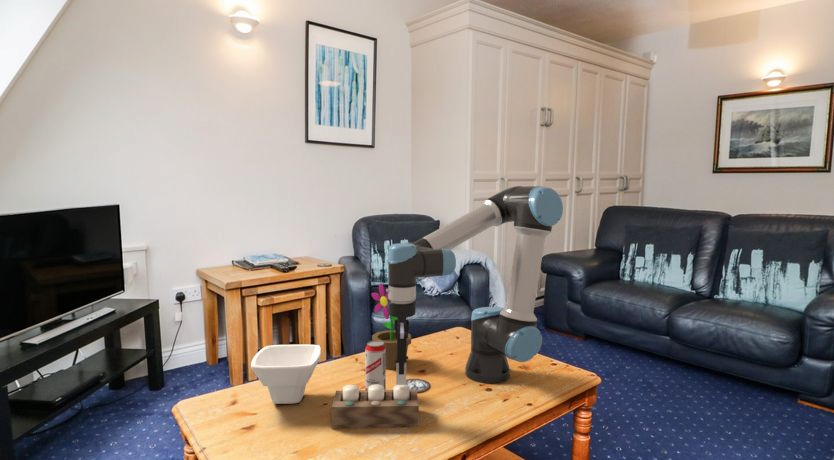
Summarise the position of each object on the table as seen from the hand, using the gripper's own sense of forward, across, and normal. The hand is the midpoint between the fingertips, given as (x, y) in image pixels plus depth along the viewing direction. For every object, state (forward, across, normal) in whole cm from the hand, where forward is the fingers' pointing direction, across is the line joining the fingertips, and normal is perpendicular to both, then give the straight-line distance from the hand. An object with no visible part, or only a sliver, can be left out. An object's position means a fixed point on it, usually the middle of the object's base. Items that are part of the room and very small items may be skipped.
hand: (401, 383), depth 133 cm
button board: (+10, +1, -7) cm, 12 cm away
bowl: (+10, -12, -34) cm, 37 cm away
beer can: (+10, -15, -8) cm, 20 cm away
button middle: (+6, 0, -7) cm, 9 cm away
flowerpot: (+10, -39, -3) cm, 40 cm away
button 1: (+6, 0, -14) cm, 15 cm away
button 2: (+6, 0, 0) cm, 6 cm away
